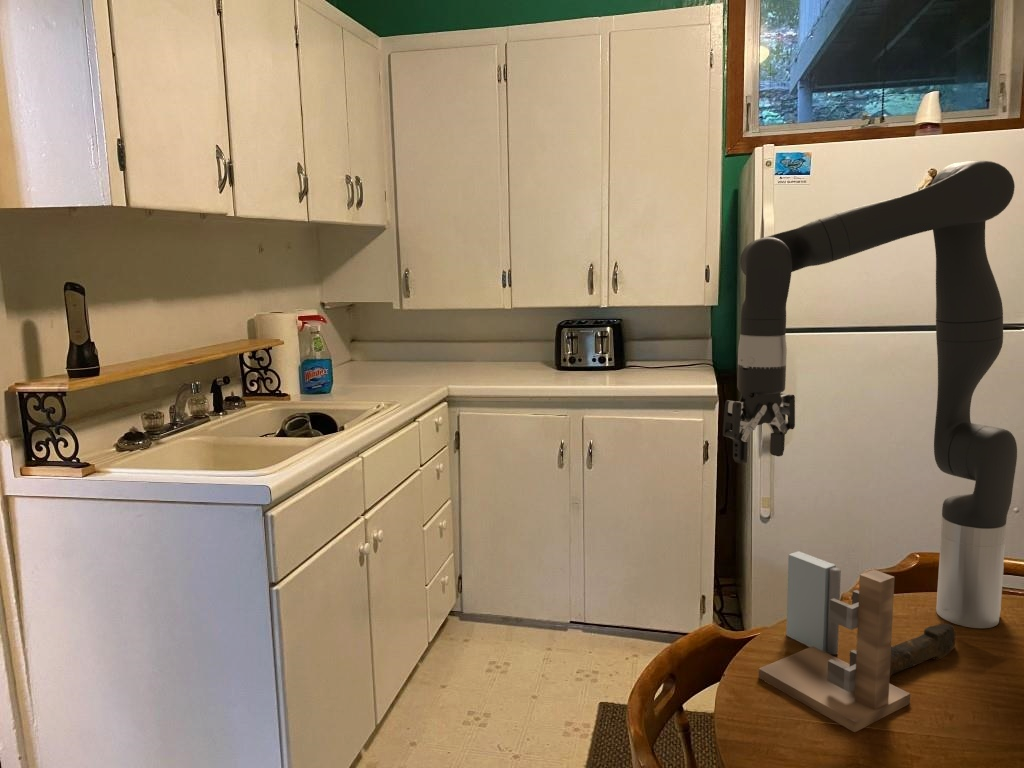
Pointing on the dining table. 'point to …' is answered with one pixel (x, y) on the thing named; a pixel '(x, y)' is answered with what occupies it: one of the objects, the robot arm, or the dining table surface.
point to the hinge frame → (839, 685)
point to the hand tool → (923, 647)
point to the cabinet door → (812, 601)
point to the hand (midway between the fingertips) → (758, 459)
